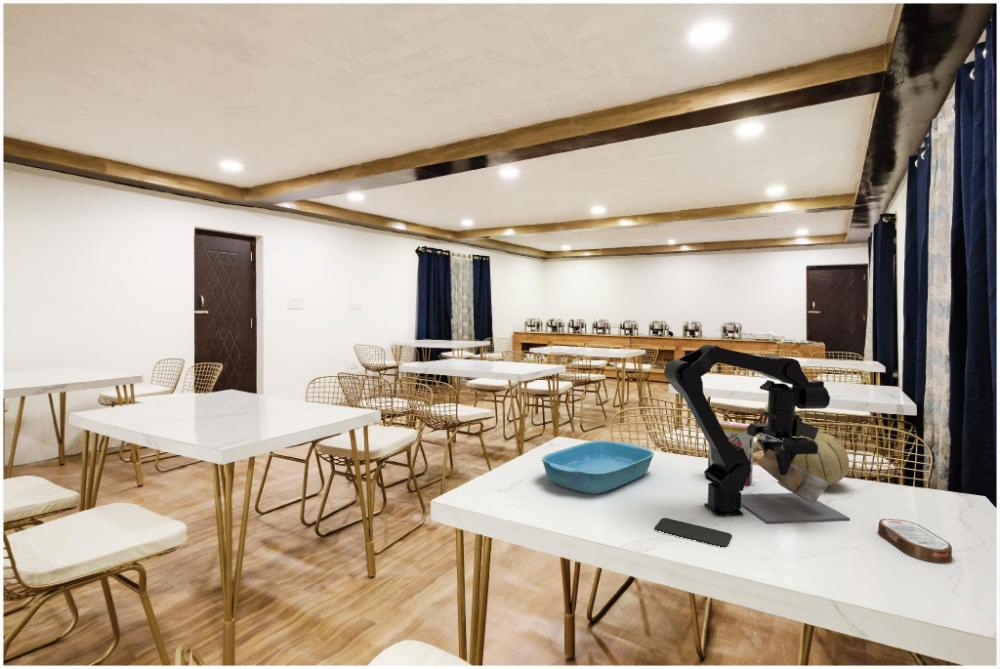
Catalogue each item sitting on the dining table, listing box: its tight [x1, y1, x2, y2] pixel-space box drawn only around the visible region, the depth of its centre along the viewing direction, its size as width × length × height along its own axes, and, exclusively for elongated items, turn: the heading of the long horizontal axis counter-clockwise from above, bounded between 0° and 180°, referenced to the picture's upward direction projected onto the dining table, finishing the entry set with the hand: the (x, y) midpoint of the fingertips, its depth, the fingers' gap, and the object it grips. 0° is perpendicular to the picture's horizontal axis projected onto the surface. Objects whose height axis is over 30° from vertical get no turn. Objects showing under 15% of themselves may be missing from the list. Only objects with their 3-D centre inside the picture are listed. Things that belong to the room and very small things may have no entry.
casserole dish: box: [541, 440, 655, 495], centre depth 146 cm, size 37×22×7 cm, turn 135°
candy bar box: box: [707, 419, 755, 487], centre depth 143 cm, size 11×5×16 cm, turn 58°
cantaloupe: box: [791, 431, 850, 486], centre depth 140 cm, size 15×15×15 cm
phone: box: [654, 517, 733, 548], centre depth 111 cm, size 7×1×15 cm
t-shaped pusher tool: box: [756, 449, 830, 504], centre depth 124 cm, size 12×12×6 cm
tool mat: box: [741, 492, 851, 525], centre depth 124 cm, size 20×16×1 cm
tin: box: [877, 518, 953, 564], centre depth 105 cm, size 15×3×8 cm
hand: (778, 472), depth 123 cm, fingers closed on t-shaped pusher tool, 3 cm apart
